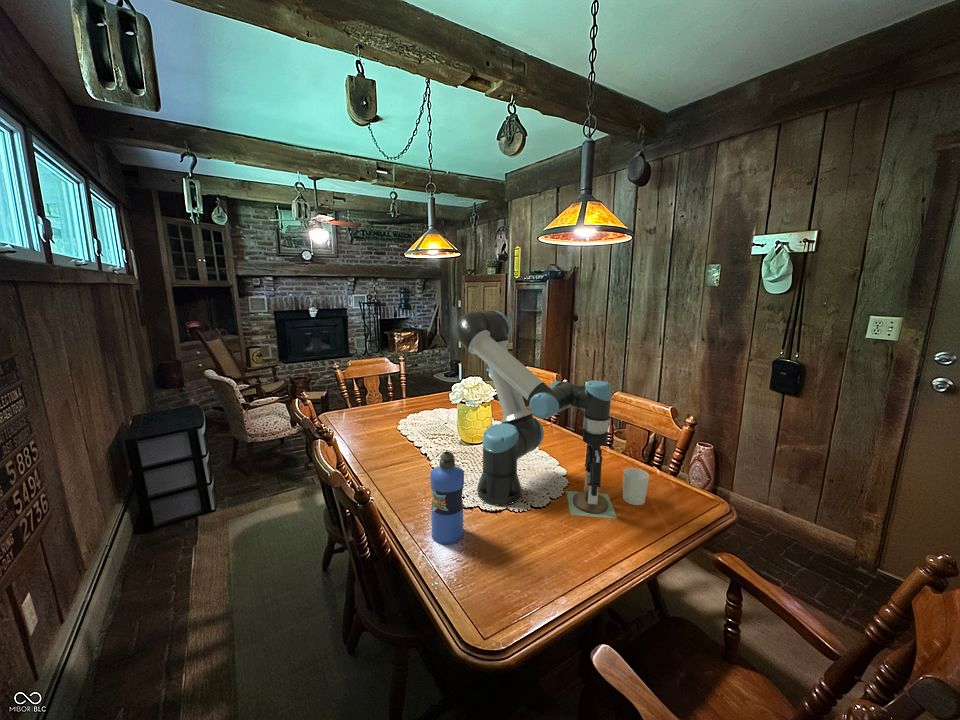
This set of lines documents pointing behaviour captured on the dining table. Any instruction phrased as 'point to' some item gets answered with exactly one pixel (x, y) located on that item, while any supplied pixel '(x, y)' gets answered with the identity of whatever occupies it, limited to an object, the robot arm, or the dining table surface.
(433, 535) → the water bottle
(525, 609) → the dining table surface
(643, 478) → the white cup
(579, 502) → the lid
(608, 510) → the mat
